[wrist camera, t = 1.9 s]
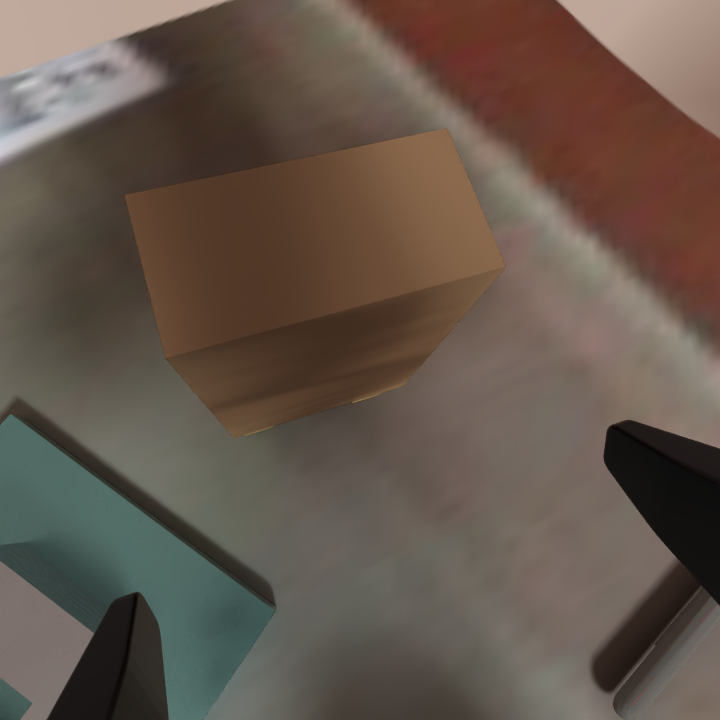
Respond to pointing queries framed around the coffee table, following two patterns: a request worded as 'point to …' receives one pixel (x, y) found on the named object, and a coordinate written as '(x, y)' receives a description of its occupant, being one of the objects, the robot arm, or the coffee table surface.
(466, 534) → the coffee table surface
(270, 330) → the tan cardboard brick
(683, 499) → the robot arm
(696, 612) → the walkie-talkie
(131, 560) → the teal holder base
